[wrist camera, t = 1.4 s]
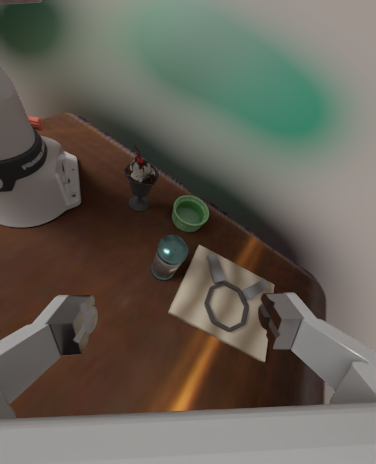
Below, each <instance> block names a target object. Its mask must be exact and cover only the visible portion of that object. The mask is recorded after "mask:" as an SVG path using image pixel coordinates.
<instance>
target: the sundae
mask: <svg viewBox="0 0 376 464" xmlns="http://www.w3.org/2000/svg"><path fill="white" fill-rule="evenodd" d="M134 147H135V148H136V149H137V147H136V146H134ZM137 150H138V149H137ZM138 152H139V150H138ZM125 174H126V177H127V178H128V180H130V186H131V190H132V193H133V194H134V195H136V196H133V197H132V198H131V199H130V200H129V206H130V207H131V208H132V209H133V210H135V211H145V210H146V209H148V207H149V201H148V200H147V199H146V198H145V196H147V195H148V194H149V192H150V190H151V187H152V185H154V183H155V182H156V181H157V179H158V176H159V173H158V171H157V170H156V169H155V168H154V167H153V166H152V165H150V164H149V163H148V162H147V161H145V160H143V159H142V158H141V157H140V152H139V155H138V156H136V157H135V160H134V161H132V163H131V164H129V165H127V166H126V168H125Z"/></svg>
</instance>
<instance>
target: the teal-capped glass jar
mask: <svg viewBox="0 0 376 464" xmlns="http://www.w3.org/2000/svg"><path fill="white" fill-rule="evenodd" d="M187 255H188V246H187V244H186V242H185V241H184V240H183V239H182V238H181V237H179V236H176V235H168V236H165V237H163V238H162V239H161V240H160V242H159V244H158V247H157V252H156V255H155V258H154V260H153V262H152V265H151V272H152V275H153V276H154V277H155V278H156V279H158V280H161V281H166V280H169V279H171V278H172V277H173V275H174V274H175V272H176V270H177V269H178V267H179V266H180V265H181V263H182V262H183V261H184V260H185V258H186V257H187Z"/></svg>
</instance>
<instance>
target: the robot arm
mask: <svg viewBox="0 0 376 464" xmlns="http://www.w3.org/2000/svg"><path fill="white" fill-rule="evenodd" d="M41 1H42V0H0V4H21V3H36V2H41ZM35 129H37V130H41V131H42V130H43V123H42V120H41V119H40V118H39V117H30V116H27V114H26V112H25V110H24V107H23V105H22V103H21V100H20V98H19V96H18V93H17V91H16V89H15V86H14V84H13V82H12V81H11V79H10V78H9V76H8V75H7V74H6V73H5V72H4V71H3V70H2V68H0V224H1V225H5V226H9V227H32V226H37V225H41V224H44V223H47V222H49V221H51V220H53V219H55V218H56V217H58V216H59V215H60V214H62V213H63V212H64V211H66V210H68V209H71V208H73V207H76V206H78V205H80V203H81V193H80V181H79V169H78V161H77V158H76V157H75V156H73V155H72V154H69V153H67V152H64V151H63V148H62V146H61V145H60V144H59V143H58V142H57V141H55V140H53V139H50V138H47V137H44V136H40V135H39V134H38V132H37V131H36V130H35ZM73 196H75V197H73ZM261 301H262V304H261V305H260V306H259V309H258V318H259V321H260V324H261V326H262V327H263V328H264V329H265V330H266V331H267V334H266V337H267V339H268V341H269V343H270V345H271V347H272V349H291V350H292V351H293V352H294V353H295V354H296V355H297V356H298V357H299V358H300V359H301V360H302V361H303V362H304V363H306V364H307V365H308V366H309V367H310V368H311V369H312V370H313V371H314V372H315V373H316V374H317V375H319V376H320V377H321V378H322V379H323V380H324V381H325V382H326V383H327V384H328V385H329V386H330V387H332V388H333V389H334V390H335V393H334V395H333V397H332V398H331V400H330V404H329V405H306V406H284V407H261V408H238V409H215V410H193V411H171V412H149V413H127V414H105V415H83V416H61V417H39V418H17V419H16V414H15V412H14V411H13V409H12V408H11V406H10V403H11V402H13V401H14V400H15V399H16V398H17V397H18V396H19V395H20V394H21V393H22V392H23V391H24V390H26V389H27V388H28V387H29V386H30V385H31V384H32V383H33V382H34V381H35V380H36V379H37V378H38V377H40V376H41V375H42V374H43V373H44V372H45V371H46V370H47V369H48V368H49V367H50V366H51V365H52V364H54V363H55V362H56V361H57V360H58V359H59V358H60V357H61V356H63V355H81V354H82V353H83V351H84V349H85V347H86V345H87V343H88V341H89V338H88V334H90V333H91V332H92V331H93V330H94V328H95V326H96V323H97V319H98V312H97V309H96V308H95V307H94V306H93V305H94V303H95V299H94V296H92V295H58V296H56V297H55V298H54V299H53V300H52V301H51V303H50V304H49V305H48V306H47V307H46V308H45V309H44V311H43V312H42V313H41V314H40V315H39V316H38V317H37V319H36V320H35V321H34V322H33V323H32V324H31V325H26V326H24V327H23V328H21V329H19V330H17V331H16V332H14V333H12V334H11V335H9V336H7V337H5V338H4V339H2V340H0V464H376V351H374V350H373V349H371V348H369V347H368V346H366V345H364V344H362V343H361V342H359V341H357V340H356V339H354V338H352V337H350V336H349V335H347V334H345V333H344V332H342V331H340V330H338V329H337V328H335V327H333V326H332V325H330V324H328V323H326V322H325V321H323V320H321V319H317V318H316V317H315V316H314V315H313V313H312V312H311V311H310V310H309V309H308V307H307V306H306V305H305V304H304V303H303V302H302V300H301V299H300V298H299V297H298V296H297V295H296V294H295V293H263V294H262V296H261Z"/></svg>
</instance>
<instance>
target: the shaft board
mask: <svg viewBox="0 0 376 464" xmlns="http://www.w3.org/2000/svg"><path fill="white" fill-rule="evenodd" d="M273 292H274V284H272V283H270V282H268V281H267V280H265V279H263V278H261V277H259V276H257V275H255V274H253V273H252V272H250V271H248V270H246V269H244V268H242V267H240V266H238V265H237V264H235V263H233V262H231V261H229V260H227V259H225V258H223V257H222V256H220V255H218V254H216V253H214V252H212V251H210V250H209V249H207V248H205V247H203V246H201V245H199V246H198V247H197V249H196V251H195V254H194V256H193V258H192V260H191V262H190V265H189V267H188V269H187V271H186V274H185V276H184V278H183V280H182V282H181V285H180V287H179V289H178V291H177V294H176V296H175V298H174V300H173V302H172V305H171V307H170V309H169V311H168V313H169V314H171V315H173V316H175V317H177V318H179V319H181V320H183V321H184V322H186V323H188V324H190V325H192V326H194V327H196V328H198V329H200V330H202V331H203V332H205V333H207V334H209V335H211V336H213V337H215V338H217V339H219V340H221V341H222V342H224V343H226V344H228V345H230V346H232V347H234V348H236V349H238V350H240V351H241V352H243V353H245V354H247V355H249V356H251V357H253V358H255V359H257V360H259V361H261V362H265V359H266V351H267V343H268V339H267V337H266V334H267V331H266V330H265V329H264V328H263V327H262V326H261V324H260V321H259V318H258V309H259V306H260V305H261V304H262V301H261V296H262V294H263V293H273Z"/></svg>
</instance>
